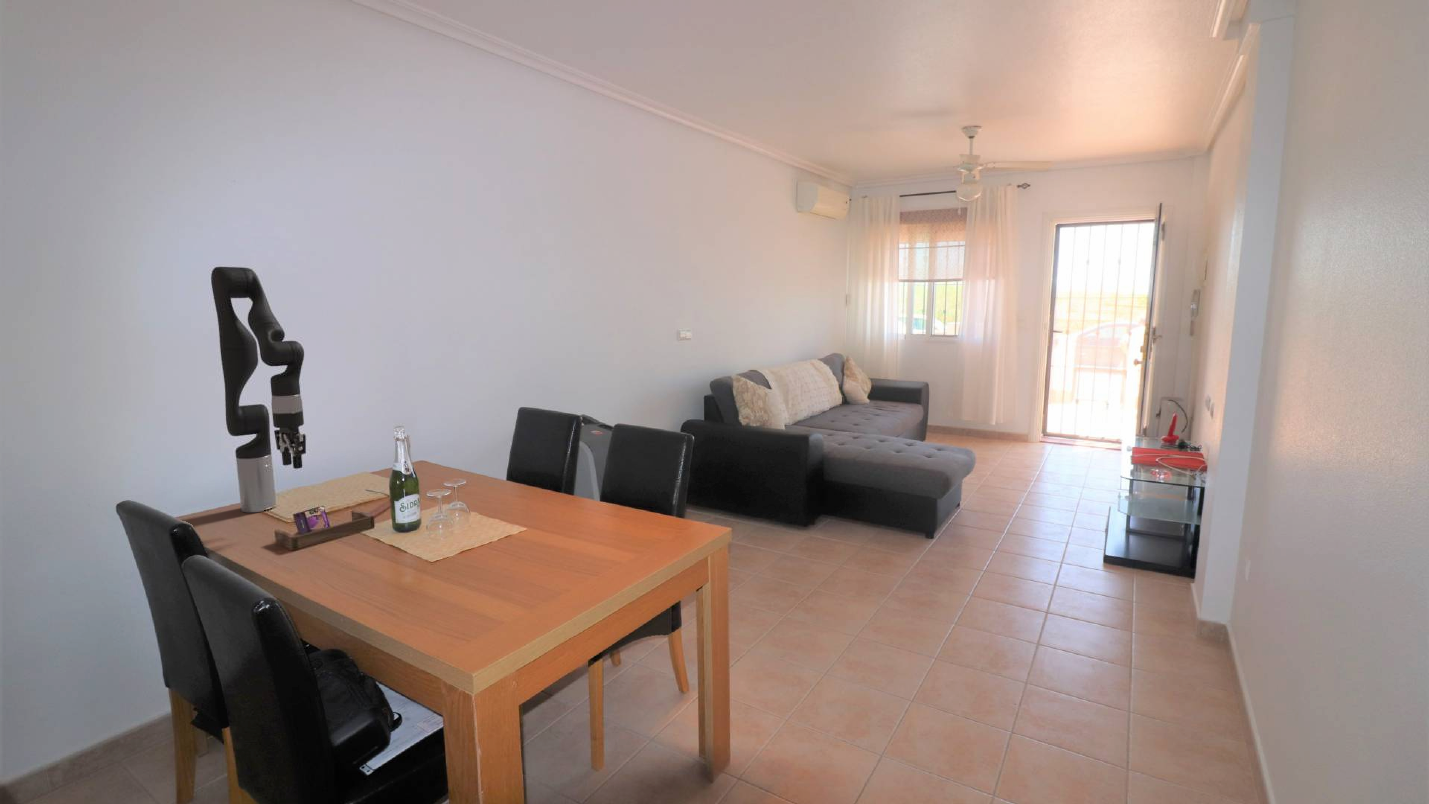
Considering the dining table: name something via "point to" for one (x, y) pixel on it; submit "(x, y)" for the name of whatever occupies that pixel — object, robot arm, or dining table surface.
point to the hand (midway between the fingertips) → (292, 466)
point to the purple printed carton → (309, 520)
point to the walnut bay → (326, 532)
